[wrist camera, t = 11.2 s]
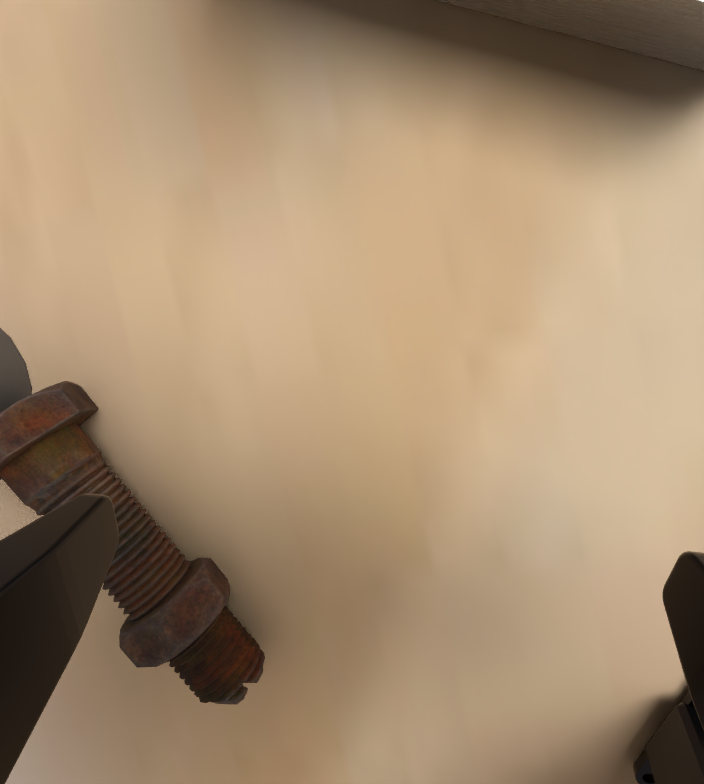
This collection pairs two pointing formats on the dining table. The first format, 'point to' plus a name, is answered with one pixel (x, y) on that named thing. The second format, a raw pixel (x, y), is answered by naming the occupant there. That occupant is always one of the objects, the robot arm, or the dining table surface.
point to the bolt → (131, 550)
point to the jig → (614, 23)
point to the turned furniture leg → (12, 374)
